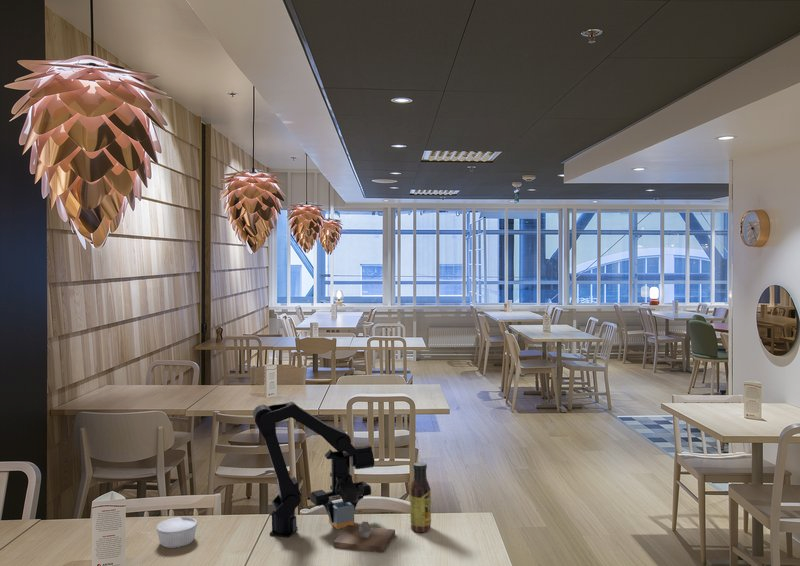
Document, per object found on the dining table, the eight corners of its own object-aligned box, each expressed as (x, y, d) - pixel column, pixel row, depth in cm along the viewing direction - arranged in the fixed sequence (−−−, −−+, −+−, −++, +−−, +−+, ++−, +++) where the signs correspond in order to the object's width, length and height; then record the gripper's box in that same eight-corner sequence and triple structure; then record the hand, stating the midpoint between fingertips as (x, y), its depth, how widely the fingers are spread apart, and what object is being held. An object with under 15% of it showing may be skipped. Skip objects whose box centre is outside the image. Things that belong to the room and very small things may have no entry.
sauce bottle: (429, 533, 189) (428, 468, 189) (408, 532, 190) (407, 467, 190) (432, 524, 196) (431, 461, 195) (412, 523, 197) (411, 460, 196)
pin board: (333, 547, 181) (333, 528, 181) (347, 529, 193) (347, 512, 193) (383, 552, 177) (383, 533, 177) (395, 534, 189) (394, 517, 189)
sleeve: (336, 529, 194) (336, 509, 193) (328, 522, 199) (328, 503, 199) (354, 524, 197) (354, 505, 196) (346, 518, 202) (345, 499, 202)
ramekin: (205, 537, 189) (205, 519, 189) (177, 553, 179) (177, 534, 179) (177, 531, 194) (176, 514, 194) (148, 546, 184) (148, 528, 184)
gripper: (323, 484, 185) (324, 536, 186) (379, 472, 195) (380, 522, 195) (308, 473, 195) (309, 523, 196) (363, 463, 204) (363, 510, 205)
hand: (341, 520), depth 198 cm, fingers closed on sleeve, 6 cm apart
